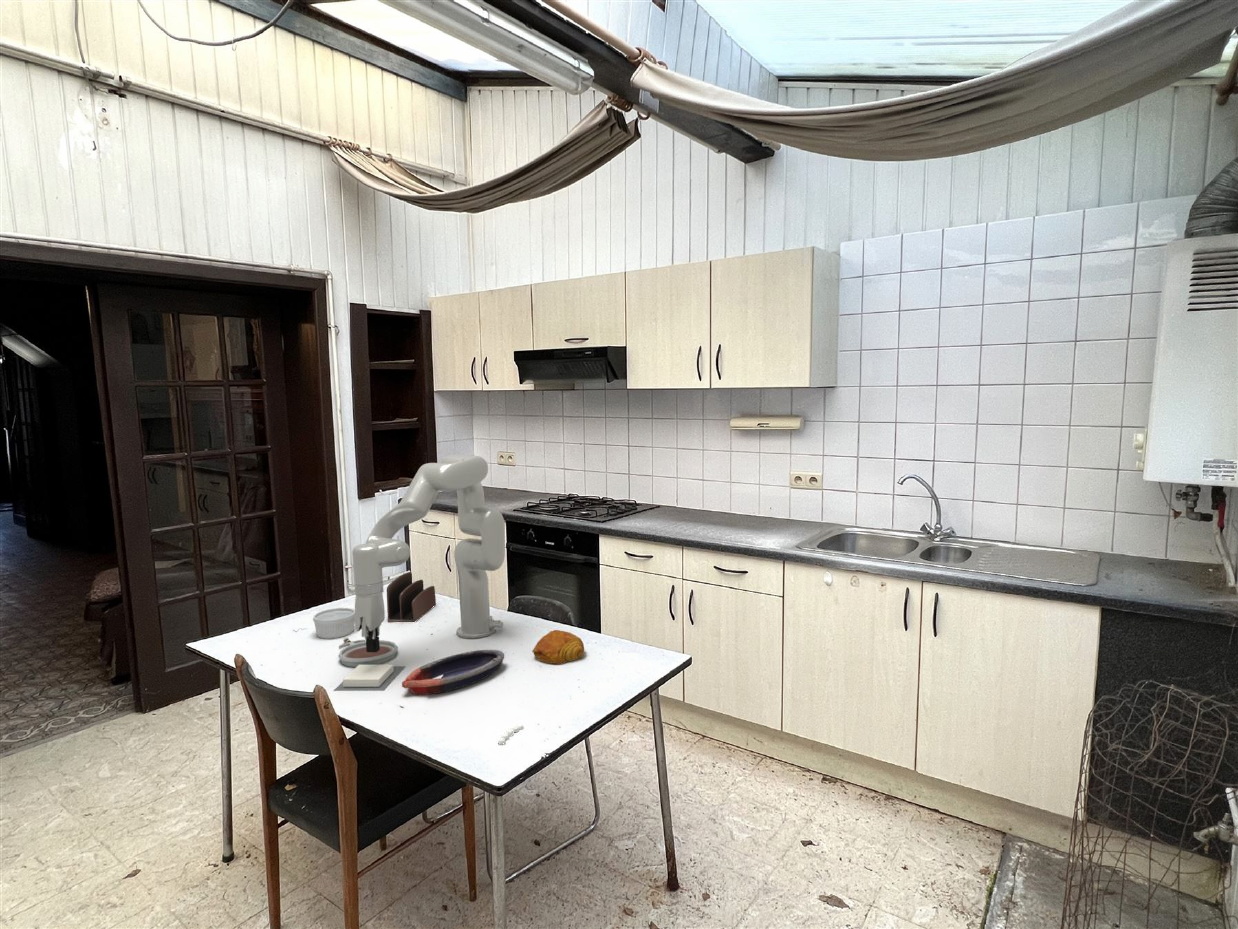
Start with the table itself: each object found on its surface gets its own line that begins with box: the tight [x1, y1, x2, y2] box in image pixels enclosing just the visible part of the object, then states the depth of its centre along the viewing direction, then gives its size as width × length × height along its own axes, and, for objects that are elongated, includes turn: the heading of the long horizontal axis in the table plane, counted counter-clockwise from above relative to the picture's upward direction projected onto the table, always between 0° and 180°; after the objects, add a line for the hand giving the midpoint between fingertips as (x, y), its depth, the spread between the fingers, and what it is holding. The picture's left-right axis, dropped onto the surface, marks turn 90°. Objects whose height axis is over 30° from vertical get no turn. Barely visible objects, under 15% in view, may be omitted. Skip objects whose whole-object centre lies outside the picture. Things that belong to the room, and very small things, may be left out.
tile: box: [342, 664, 394, 687], centre depth 188 cm, size 10×2×10 cm
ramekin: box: [312, 607, 355, 640], centre depth 227 cm, size 13×13×7 cm
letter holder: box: [386, 571, 437, 623], centre depth 245 cm, size 10×20×14 cm, turn 173°
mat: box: [332, 665, 407, 692], centre depth 189 cm, size 14×16×1 cm
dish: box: [401, 649, 505, 695], centre depth 187 cm, size 16×31×5 cm, turn 131°
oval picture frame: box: [337, 636, 399, 668], centre depth 208 cm, size 17×3×28 cm
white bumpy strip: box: [497, 724, 524, 745], centre depth 155 cm, size 15×4×2 cm, turn 153°
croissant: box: [532, 629, 585, 665], centre depth 203 cm, size 14×16×8 cm
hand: (373, 651), depth 191 cm, fingers closed
